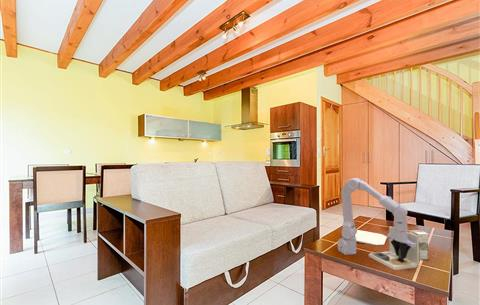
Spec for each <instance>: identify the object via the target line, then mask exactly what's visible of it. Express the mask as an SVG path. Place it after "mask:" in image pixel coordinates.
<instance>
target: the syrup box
mask: <svg viewBox="0 0 480 305" xmlns="http://www.w3.org/2000/svg"><path fill="white" fill-rule="evenodd" d="M410 233H412V234H415V235H418V236H419V261H421V260H426V261H429V234H428V233H427V231H426V232H425V231H423V230H410Z"/></svg>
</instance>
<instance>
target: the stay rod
mask: <svg viewBox="0 0 480 305" xmlns="http://www.w3.org/2000/svg"><path fill="white" fill-rule="evenodd" d="M398 261H399V262H401V263H402V262H404V258H401V250H400V247H398Z"/></svg>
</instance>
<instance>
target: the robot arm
mask: <svg viewBox="0 0 480 305" xmlns="http://www.w3.org/2000/svg"><path fill="white" fill-rule="evenodd" d="M356 190H358V191H363V192H365V193H367V194H369V195H370V196H372V197H374V198H375V199H376V200H378V203H379V205H381V206H382V207H383V208H385V210H387V211H388V212H390V213H392V215H393V219H394V220H393V227H394V235H392V234H389V233H387V235H386V237H387V239H389V238H390V239H393V240H392V241H391V243H392V245H393V247H394V250H395V253H396V255H397V256H398V247H400V250H401V258H406V255H407V253H408V250H409V249H410V248H411V247H412V248H416V243H413V242H412V241H410V240H408V236H407V232H408V218H407V216H408V209H407V208H406V207H405V206H404V205H401V203H398V202H396V201H395V200H394V199H392V197H391V196H390V195H389V196H388V195H383V194H381V193H380V192H379V191H378V190H376V189H375V188H373V187H372V186H371V185H370V184H369V183H367V182H366V181H364V180H362V179H361V178H359V177H354V178H350V179H348V180H346V181H345V182H344V184H343V187H342V189H341V191H340V192H341V205H342V206H341V208H342V214H343V215H342V218H343V223H342V229H341V235H342V236H343V237H342V236H341V238H339V239H338V241H337V250H338V252H339V253H341V254H343V255H346V256H347V255H356V254H357V242H356V237H355V235H356V233H357V230H358V229H357V226H356V224H355V222H354V215H353V204H352V194H353V192H355V191H356Z"/></svg>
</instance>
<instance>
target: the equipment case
mask: <svg viewBox="0 0 480 305" xmlns="http://www.w3.org/2000/svg"><path fill="white" fill-rule="evenodd" d="M388 234H392V235H394V226H389V227H388ZM407 236H408V240H410V241H412V242H413V243H416V248H412V247H411V248H410V249H409V250H408V253H407V255H406V258H404V262H402V263H401V262H399V261H398V256H397V255H396V253H395V250H394V247H393V245H392V243H391V241H392V240H393V239H390V238H388V241H389V247H388V248H389V249H388V250H389V251H382V252H381V251H379V252H373V253H372V252H371V253H368V257H369V258H371V259H373V260H374V261H376V262H378V263H380V264H382V265H384V266H386V267H388V268H389V269H391V270H394V271H400V270H407V269H414V268H418V265H419V264H420V259H419V236H418V235H415V234H412V233H411V232H408V231H407Z"/></svg>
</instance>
